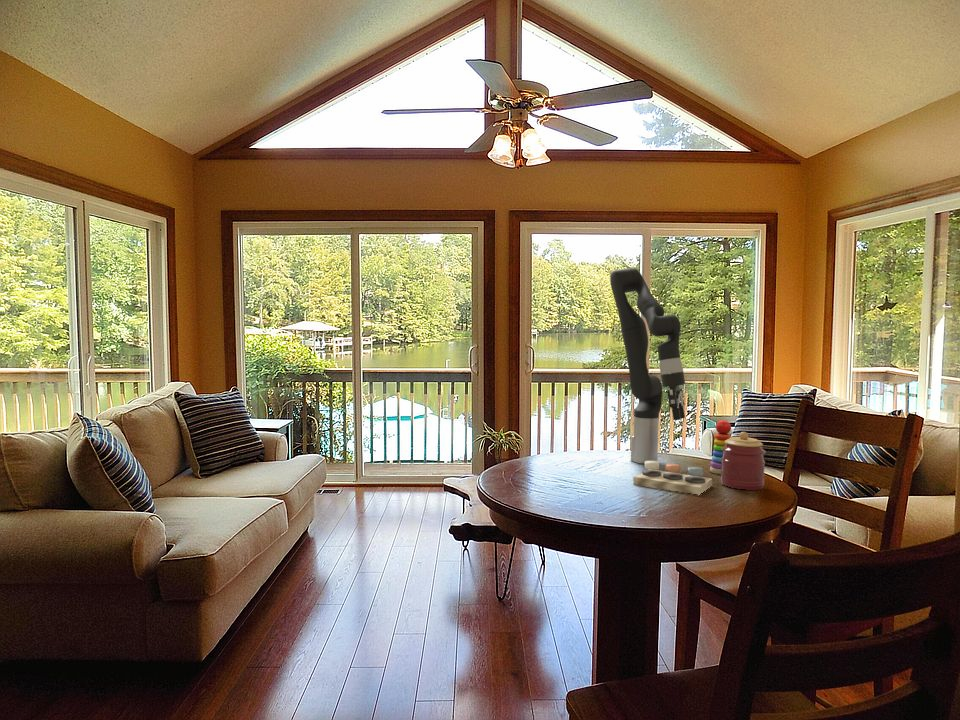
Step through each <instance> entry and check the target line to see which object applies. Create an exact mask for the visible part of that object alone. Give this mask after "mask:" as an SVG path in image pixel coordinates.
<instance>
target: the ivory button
mask: <svg viewBox="0 0 960 720" xmlns="http://www.w3.org/2000/svg"><path fill="white" fill-rule="evenodd" d="M644 469H645V470H648V469H650V470H658V471H659V469H660V461H658V462H657V461H645V464H644Z"/></svg>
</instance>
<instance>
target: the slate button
mask: <svg viewBox="0 0 960 720" xmlns="http://www.w3.org/2000/svg"><path fill="white" fill-rule="evenodd" d="M686 473H687V474H686V475H691V476H698V477H704V468H703V467H699V466H687V472H686Z"/></svg>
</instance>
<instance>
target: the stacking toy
mask: <svg viewBox="0 0 960 720" xmlns="http://www.w3.org/2000/svg"><path fill="white" fill-rule="evenodd" d="M731 429H732V424H731V423H730V422H729V421H727V420H725V419H721V420H718V421H717V423H716V424H715V430H716V431H717V433H716V434H715V439H714V441H713V442H714V443H713V444H714V445H713V451H712V456H711V461H710V463H709V464H710V467H709V471H710V472H711V473H712V474H716V475H721V473H722V459H721V458H722V457H723V450H722V447H723V446H725V445H726V443H725V440H727V439H729V438H730V437H732V436H731V435H730V434H729V433H730V432H731Z"/></svg>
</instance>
